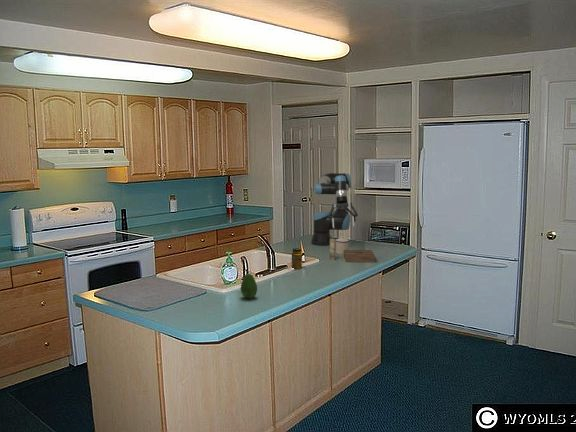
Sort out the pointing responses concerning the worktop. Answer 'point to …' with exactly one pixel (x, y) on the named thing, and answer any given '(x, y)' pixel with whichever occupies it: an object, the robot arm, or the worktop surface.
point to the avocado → (248, 286)
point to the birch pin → (332, 249)
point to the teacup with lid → (341, 245)
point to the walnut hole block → (359, 256)
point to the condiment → (297, 259)
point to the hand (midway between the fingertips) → (343, 227)
